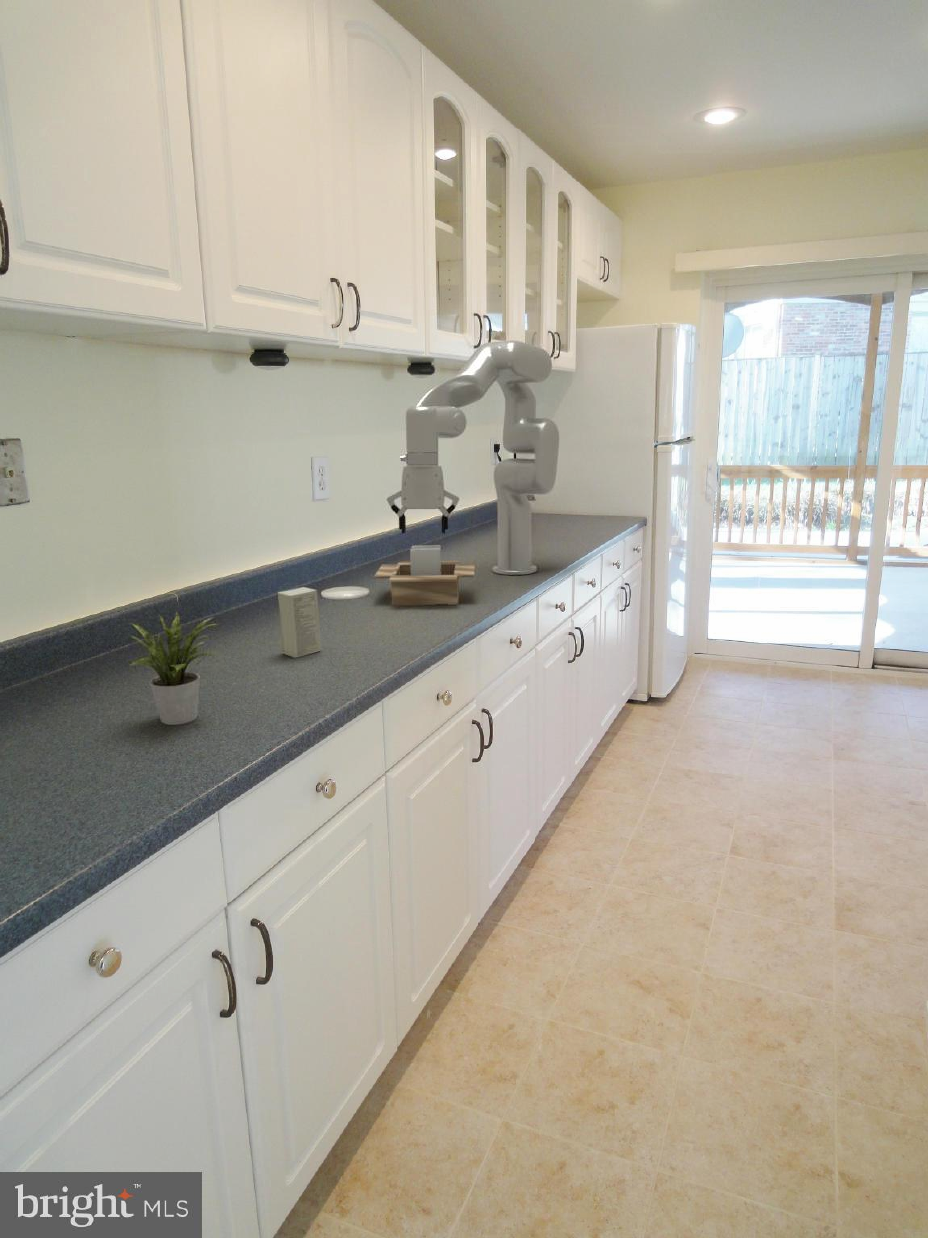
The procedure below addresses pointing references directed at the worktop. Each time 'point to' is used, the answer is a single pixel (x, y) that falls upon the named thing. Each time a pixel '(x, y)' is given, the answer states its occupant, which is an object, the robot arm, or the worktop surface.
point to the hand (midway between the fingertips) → (423, 532)
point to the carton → (425, 583)
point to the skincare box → (299, 621)
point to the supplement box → (425, 560)
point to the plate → (345, 593)
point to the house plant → (174, 672)
